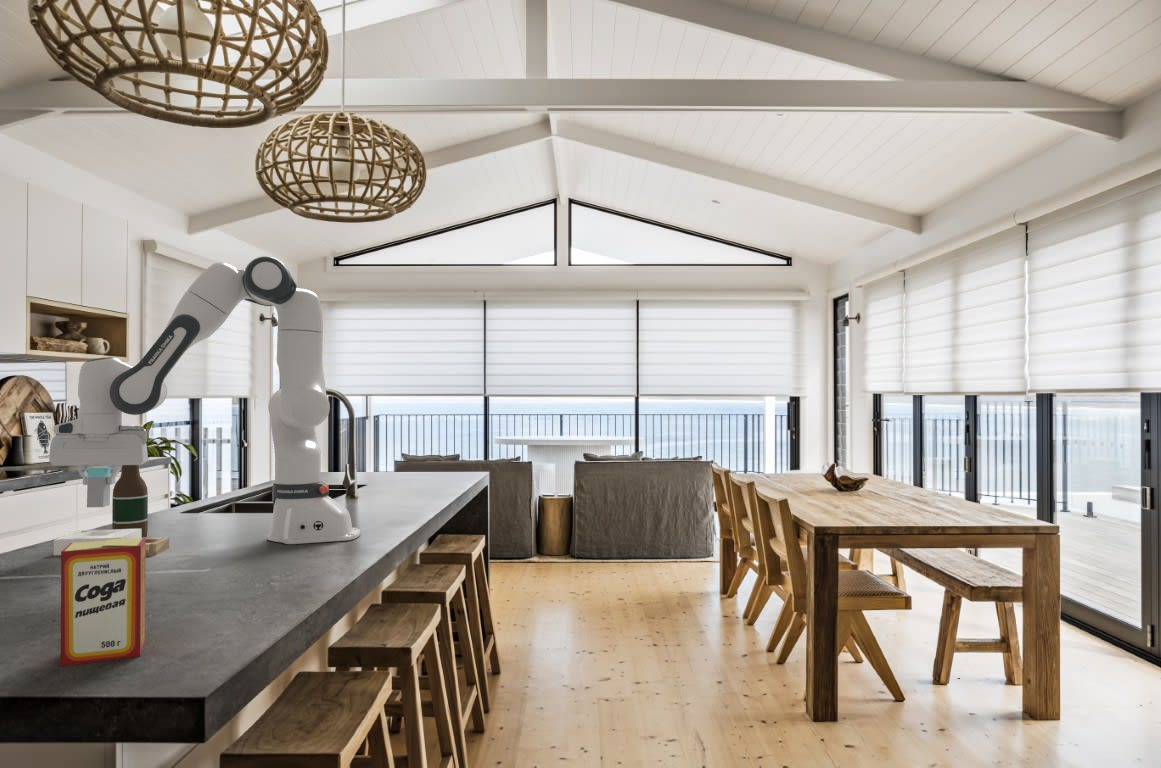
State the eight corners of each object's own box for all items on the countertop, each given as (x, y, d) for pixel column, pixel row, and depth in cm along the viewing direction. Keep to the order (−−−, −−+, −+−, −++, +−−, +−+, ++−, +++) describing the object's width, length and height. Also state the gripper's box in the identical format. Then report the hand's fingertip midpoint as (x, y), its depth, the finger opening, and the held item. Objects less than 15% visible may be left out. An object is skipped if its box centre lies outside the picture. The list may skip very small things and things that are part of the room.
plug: (109, 505, 183) (110, 467, 183) (103, 507, 180) (104, 468, 180) (93, 505, 182) (94, 467, 183) (86, 507, 179) (87, 468, 179)
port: (141, 544, 188) (141, 527, 188) (120, 555, 176) (120, 536, 176) (78, 546, 186) (79, 529, 186) (53, 557, 174) (53, 538, 174)
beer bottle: (104, 540, 193) (105, 445, 194) (131, 535, 201) (131, 443, 201) (129, 542, 191) (129, 446, 191) (154, 536, 199) (155, 444, 199)
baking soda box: (60, 666, 105) (61, 548, 105) (69, 651, 111) (70, 540, 111) (140, 656, 109) (140, 543, 109) (145, 642, 115) (145, 535, 115)
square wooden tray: (169, 550, 182) (169, 537, 182) (156, 557, 174) (156, 544, 174) (132, 551, 180) (132, 538, 180) (118, 558, 173) (118, 545, 173)
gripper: (152, 425, 186) (151, 482, 186) (59, 425, 183) (59, 483, 183) (142, 426, 180) (141, 485, 180) (46, 426, 177) (45, 486, 176)
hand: (99, 484), depth 181 cm, fingers closed on plug, 3 cm apart
